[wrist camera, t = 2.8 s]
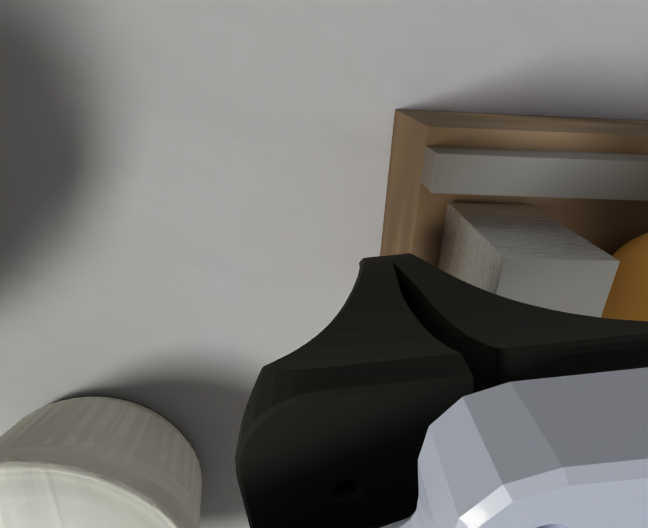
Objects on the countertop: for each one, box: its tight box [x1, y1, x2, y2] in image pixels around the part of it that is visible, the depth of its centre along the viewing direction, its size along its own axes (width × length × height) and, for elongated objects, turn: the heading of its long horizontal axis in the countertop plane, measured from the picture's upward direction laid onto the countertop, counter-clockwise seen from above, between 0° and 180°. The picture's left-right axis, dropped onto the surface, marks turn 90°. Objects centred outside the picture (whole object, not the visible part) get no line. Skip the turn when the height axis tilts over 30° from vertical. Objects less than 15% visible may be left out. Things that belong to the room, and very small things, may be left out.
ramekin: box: [0, 397, 202, 528], centre depth 21 cm, size 11×11×5 cm
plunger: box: [437, 202, 620, 318], centre depth 12 cm, size 2×4×4 cm, turn 177°
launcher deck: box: [380, 109, 648, 267], centre depth 16 cm, size 14×8×6 cm, turn 87°
